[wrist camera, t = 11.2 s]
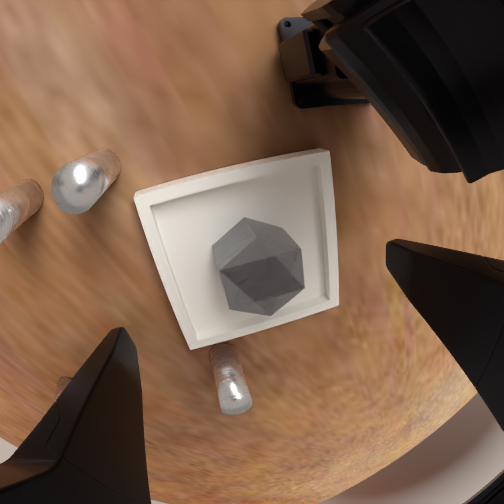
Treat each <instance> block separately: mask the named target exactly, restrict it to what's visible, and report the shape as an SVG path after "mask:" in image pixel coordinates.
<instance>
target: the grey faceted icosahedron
mask: <svg viewBox="0 0 504 504" xmlns="http://www.w3.org/2000/svg"><path fill="white" fill-rule="evenodd" d="M212 247H213V251H214V255H215V259H216V263H217V267H218V271H219V275H220V279H221V283H222V286H223V290H224V293H225V296H226V300H227V303H228V306H229V310H235V311H241V312H247V313H254V314H260V315H266V316H272V315H273V314H274V313H275V312H277V311H278V310H279V309H280V308H282V307H283V306H284V305H285V304H286V303H288V302H289V301H290V300H291V299H292V298H294V297H295V296H296V295H297V294H298V293H300V292H301V291H302V290H303V289H304V288H305V284H304V272H303V261H302V251H301V248H300V247H299V246H298V244H297V243H296V242H295V241H294V240H293V239H292V238H291V237H290V236H289V234H288V233H287V232H286V231H285V230H284V229H283V228H281V227H278V226H274V225H271V224H267V223H264V222H260V221H257V220H253V219H250V218H246V217H244V218H243V219H241V220H240V221H239V222H238V223H237V224H236V225H235V226H234V227H232V228H231V229H230V230H229V231H228V232H227V233H226V234H225V235H223V236H222V237H221V238H220V239H219V240H218V241H217V242H216V243H215V244H213V245H212Z"/></svg>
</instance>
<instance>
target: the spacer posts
mask: <svg viewBox="0 0 504 504" xmlns="http://www.w3.org/2000/svg"><path fill="white" fill-rule="evenodd" d="M120 169H121V164H120V160H119V158H118V156H117V155H116V153H114V152H113V151H112V150H109V149H98V150H96V151H94V152H92V153H89V154H87V155H85V156H83V157H81V158H79V159H77V160H75V161H73V162H71V163H69V164H67V165H65V166H63V167H62V168H61V169H59V170H58V172H57V173H56V174H55V176H54V179H53V182H52V195H53V198H54V201H55V203H56V204H57V206H58V207H59V208H60V209H61V210H63V211H64V212H66V213H69V214H81V213H84V212H86V211H88V210H89V209H90V208H91V207H92V206H93V205H94V203H95V202H96V201H97V200H98V199H99V198H100V196H101V195H102V194H103V193H104V192H105V191H106V190H107V188H108V187H109V186H110V185H111V184H112V183H113V182H114V181H115V180H116V178H117V177H118V175H119V173H120ZM42 203H43V191H42V188H41V186H40V185H39V184H38V183H37V182H36V181H34V180H31V179H27V180H24V181H22V182H20V183H18V184H17V185H15V186H13V187H11V188H9V189H8V190H6V191H4V192H2V193H1V194H0V243H1V242H2V241H3V240H5V239H6V238H7V237H8V236H9V235H10V234H11V233H12V232H13V231H14V230H15V229H17V228H18V227H19V226H20V225H21V224H22V223H23V222H25V221H26V220H27V219H28V218H29V217H30V216H32V215H33V214H34V213H35V212H36V211H38V210H39V209H40V207H41V206H42ZM210 359H211V364H212V369H213V374H214V379H215V384H216V389H217V393H218V398H219V403H220V407H221V410H222V412H224V413H225V414H229V415H237V414H241V413H244V412H246V411H248V410H249V409H250V408H251V407H252V405H253V402H252V399H251V396H250V392H249V389H248V386H247V383H246V379H245V376H244V373H243V370H242V366H241V363H240V360H239V356H238V353H237V350H236V347H235V346H234V345H232V344H230V343H220V344H217V345H215V346H214V347H213V348H212V349H211V350H210ZM71 380H72V378H69V377H61V378H60V379H59V381H58V385H57V389H56V393H55V397H54V401H53V404H54V402H56V400H57V398H58V397H59V396H60V394H61V393H62V392H63V390H64V389H65V388H66V386H67V385H68V384H69V382H70V381H71Z"/></svg>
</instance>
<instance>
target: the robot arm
mask: <svg viewBox="0 0 504 504" xmlns="http://www.w3.org/2000/svg"><path fill="white" fill-rule="evenodd" d="M301 15H302V16H303V17H292V18H283V19H282V20H280V21H279V23H278V27H279V32H280V37H281V41H282V42H281V43H280V44H279V50H280V55H281V60H282V65H283V71H284V76H285V80H287V81H288V82H289V83H290V89H291V95H292V101H293V104H294V106H295V107H296V108H300V109H304V108H312V107H321V106H332V105H343V104H357V103H370V104H371V105H372V106H373V107H374V108H375V109H376V111H377V112H378V113H379V114H380V116H381V117H382V118H383V119H384V121H385V122H386V123H387V124H388V126H389V127H390V128H391V130H392V131H393V132H394V133H395V135H396V136H397V137H398V139H399V140H400V141H401V143H402V144H403V146H404V147H405V148H406V150H407V151H408V153H409V154H410V155H411V157H412V158H414V159H415V160H417V161H418V162H420V163H421V164H423V165H426V166H427V168H428V169H429V170H430V171H432V172H438V173H458V172H463V174H464V176H465V178H466V181H467V182H468V183H473V182H475V181H477V180H479V179H480V178H482V177H484V176H486V175H488V174H490V173H493V172H496V171H500V170H503V169H504V0H316V1H315V2H314V3H313V4H312V5H310V6H309V7H308V8H307V9H306V10H305V11H304V12H303V13H302V14H301ZM284 22H286V23H288V24H289V27H285V26H284ZM300 98H302V99H303V104H302V105H301V104H299V102H298V101H299V99H300ZM386 266H387V269H388V270H389V272H390V273H391V275H392V276H393V278H394V279H395V280H396V282H397V283H398V285H399V286H400V288H401V289H402V291H403V292H404V294H405V295H406V297H407V298H408V300H409V301H410V302H411V303H412V305H413V306H414V307H415V308H416V310H417V311H418V312H419V313H420V315H421V316H422V317H423V318H424V320H425V321H426V322H427V323H428V325H429V326H430V327H431V328H432V330H433V331H434V332H435V333H436V335H437V336H438V337H439V339H440V340H441V341H442V343H443V344H444V345H445V347H446V348H447V349H448V351H449V352H450V353H451V355H452V356H453V357H454V359H455V360H456V361H457V363H458V364H459V365H460V367H461V368H462V370H463V371H464V372H465V374H466V375H467V377H468V378H469V380H470V381H471V382H472V384H473V385H474V387H475V388H476V390H477V391H478V393H479V394H480V396H481V397H482V399H483V400H484V402H485V403H486V405H487V406H488V408H489V409H490V411H491V412H492V414H493V416H494V417H495V419H496V421H497V422H498V424H499V425H500V427H501V429H502V430H503V431H504V261H503V260H499V259H494V258H489V257H485V256H484V257H483V256H480V255H476V254H471V253H466V252H462V251H457V250H452V249H448V248H443V247H438V246H433V245H428V244H423V243H418V242H413V241H408V240H402V239H394V240H391V241H389V242H387V244H386ZM0 504H151V499H150V492H149V484H148V475H147V465H146V454H145V442H144V426H143V405H142V388H141V380H140V372H139V364H138V356H137V349H136V346H135V344H134V342H133V341H132V339H131V338H130V336H129V334H128V333H127V331H126V329H125V328H124V327H118V328H115V329H112V330H111V331H110V332H109V333H108V334H107V336H106V337H105V338H104V339H103V340H102V342H101V343H100V344H99V345H98V347H97V348H96V349H95V350H94V352H93V353H92V354H91V355H90V357H89V358H88V359H87V360H86V362H85V363H84V364H83V366H82V367H81V368H80V369H79V371H78V372H77V373H76V374H75V376H74V377H73V378H72V380H71V381H70V382H69V384H68V385H67V386H66V388H65V389H64V390H63V392H62V393H61V394H60V396H59V397H58V398H57V400H56V402H54V404H53V405H52V406H51V408H50V409H49V410H48V412H47V413H46V414H45V416H44V417H43V418H42V420H41V421H40V422H39V423H38V425H37V426H36V427H35V428H34V429H33V431H32V432H31V433H30V434H29V435H28V437H27V438H26V439H25V440H24V441H23V443H22V444H21V445H20V446H19V448H18V449H17V450H16V451H15V452H14V454H13V455H12V456H11V457H10V458H9V459H8V460H6V461H5V462H3V463H1V464H0ZM463 504H504V470H503V471H502V472H500V473H499V474H498V475H497V476H496V477H495V478H494V479H493V480H492V481H491V482H489V483H488V484H487V485H486V486H485V487H483V489H481V490H480V491H479V492H477V493H476V494H475V495H474V496H473V497H471V498H470V499H469V500H467V501H466V502H465V503H463Z"/></svg>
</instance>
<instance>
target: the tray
mask: <svg viewBox="0 0 504 504" xmlns="http://www.w3.org/2000/svg"><path fill="white" fill-rule="evenodd" d="M133 198H134V201H135V204H136V207H137V211H138V214H139V217H140V220H141V223H142V226H143V229H144V232H145V235H146V238H147V241H148V244H149V247H150V250H151V252H152V255H153V258H154V261H155V264H156V266H157V269H158V272H159V274H160V277H161V280H162V282H163V285H164V288H165V290H166V293H167V295H168V298H169V300H170V303H171V305H172V308H173V310H174V313H175V315H176V318H177V320H178V323H179V325H180V327H181V330H182V332H183V334H184V337H185V339H186V341H187V344H188V346H189V348H190V350H193V349H197V348H200V347H204V346H208V345H212V344H216V343H219V342H223V341H227V340H230V339H234V338H237V337H241V336H244V335H248V334H251V333H255V332H258V331H261V330H265V329H268V328H271V327H275V326H278V325H281V324H284V323H287V322H290V321H294V320H297V319H300V318H303V317H306V316H309V315H312V314H315V313H318V312H321V311H324V310H326V309H329V308H332V307H335V306H338V305H339V276H338V249H337V230H336V215H335V201H334V189H333V178H332V168H331V159H330V151H328V150H325V149H321V148H317V149H311V150H306V151H300V152H295V153H289V154H284V155H279V156H274V157H269V158H264V159H259V160H254V161H250V162H245V163H241V164H236V165H232V166H228V167H224V168H219V169H215V170H211V171H207V172H203V173H199V174H195V175H192V176H188V177H184V178H180V179H177V180H173V181H169V182H166V183H162V184H159V185H155V186H152V187H149V188H145V189H142V190H139V191H136V193H135V195H134V197H133ZM244 217H246V218H250V219H253V220H257V221H260V222H264V223H267V224H271V225H274V226H278V227H281V228H283V229H284V230H285V231H286V232H287V233H288V234H289V236H290V237H291V238H292V239H293V240H294V241H295V242H296V243H297V244H298V246H299V247H300V248H301V251H302V261H303V272H304V284H305V288H304V289H303V290H302V291H301V292H300V293H298V294H297V295H296V296H295V297H294V298H292V299H291V300H290V301H289V302H288V303H286V304H285V305H284V306H283V307H282V308H280V309H279V310H278V311H277V312H275V313H274V314H273V315H272V316H266V315H260V314H254V313H247V312H241V311H235V310H229V306H228V303H227V300H226V296H225V293H224V290H223V286H222V283H221V279H220V275H219V271H218V267H217V263H216V259H215V255H214V251H213V247H212V245H213V244H215V243H216V242H217V241H218V240H219V239H220V238H221V237H222V236H223V235H225V234H226V233H227V232H228V231H229V230H230V229H231V228H232V227H234V226H235V225H236V224H237V223H238V222H239V221H240V220H241V219H243V218H244Z"/></svg>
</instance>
